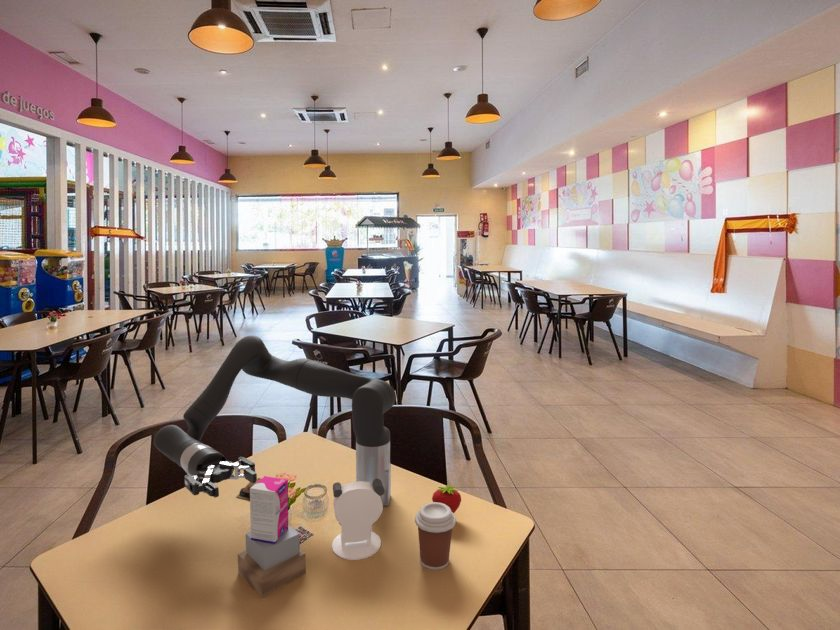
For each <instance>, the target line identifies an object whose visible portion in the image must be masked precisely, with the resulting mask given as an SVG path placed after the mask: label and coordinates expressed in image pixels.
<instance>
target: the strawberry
mask: <svg viewBox="0 0 840 630" xmlns="http://www.w3.org/2000/svg"><path fill="white" fill-rule="evenodd" d="M447 483H448V484H446V486H445V487H443V486H438V487H437V489H436V491H434V492H433V493H432V496H431V497H432V498H431V500H432V502H438V503H443V504H445V505H447V506H448V507H450V509H451V512H453V513H454V514H455V513H456V511H457V510H458V509H459V508H460V505H461V502H462V496H461V493H460V492H459V490H457V489H455V487H454V486H450V483H449V481H447Z"/></svg>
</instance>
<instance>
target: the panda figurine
mask: <svg viewBox="0 0 840 630" xmlns="http://www.w3.org/2000/svg"><path fill="white" fill-rule="evenodd" d="M372 484H373V485H372ZM372 484H371V483H369V482H364V481H356V480H355V481H351V482H347V483H344V484H342V483H340V482H334V483H333V484H332V494H333V513H334V517H335V520H336V521H337V522H338V524H339V526H341V527H340V529H341V532H340V533H339V534H338V535H337V536H336V537H334V539H333V540H332V543H331V549H332V552H333V554H334V555H336V556H337V557H339V558H341V559H344V560H347V561H360V560H365V559H367V558H369V557H372V556H374V555H375V554H377V552H378V551H379V550H380V548H381V545H382V541H381V537H380V535H378V534H377V533H375V532H374V531H372V529H373V524H374V523H376V521H377V520H379V518H380V517H381V516H382V513H383V510H384V509H383V508H384V506H383V504H382V501H381V498H380V496H381V495H383V494H384V492H385V490H384V487H383V484H382V481H381V480H380V479H375V480H373V482H372Z"/></svg>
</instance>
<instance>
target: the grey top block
mask: <svg viewBox="0 0 840 630" xmlns="http://www.w3.org/2000/svg"><path fill="white" fill-rule="evenodd" d="M300 542H301V541H300V533H299V532H298V531H297V530H295V529H294V528H293V527H292V526H290V525H289V524H288V529H287V531H285V533H284V534H283V535H282V536H281V537H280V538H279V540H278V541H277V542H276V543H275V544H270V543H265V542H258V541H252V540H251V530H250V531H248V532H246V533H245V551H246V553H247V554H248V555H249V556H250V557H251V558H252V559H253V560H254V561H255V562H256V563H257V564H258V565H259V566H260V567H261V568H262V569H263V570H264V571H266V570H268V569H270V568H272V567H274V566H276V565H278V564H280V563H282V562H284V561H286V560H288V559H290V558H292V557H293V556H295V555H297V554H299V553H300V550H301V546H300V544H301V543H300Z"/></svg>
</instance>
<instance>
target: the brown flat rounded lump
mask: <svg viewBox="0 0 840 630" xmlns="http://www.w3.org/2000/svg"><path fill="white" fill-rule="evenodd" d="M261 479H262V478H260V477H257V480H256V482H255V483H251V482H249V481H248V483H247V484H246V486H245V487H242V488H240V490H239V493H238V494H237V495H236V499H240V500H244V501H249V502H250V488H251V487H252V486H254V485H255V484H256V483H257V482H258V481H259V480H261Z"/></svg>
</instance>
